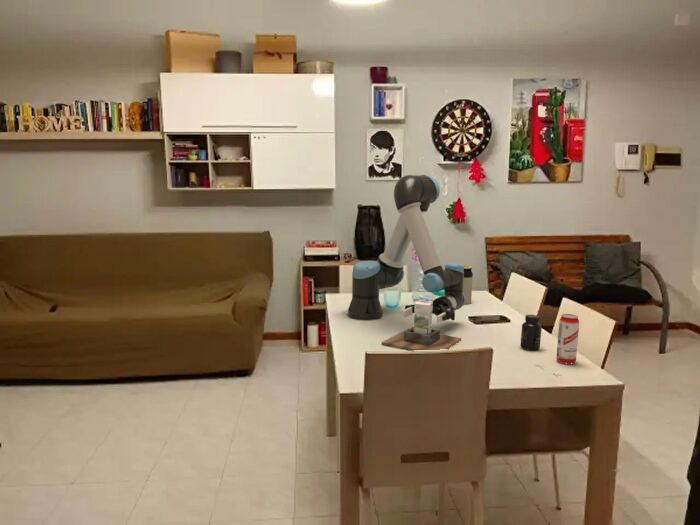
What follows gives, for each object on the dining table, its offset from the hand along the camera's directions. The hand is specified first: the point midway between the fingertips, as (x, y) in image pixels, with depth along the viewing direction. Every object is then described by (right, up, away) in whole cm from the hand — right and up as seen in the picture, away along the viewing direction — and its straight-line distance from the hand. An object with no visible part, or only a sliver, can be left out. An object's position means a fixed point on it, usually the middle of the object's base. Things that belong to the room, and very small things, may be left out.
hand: (420, 317), depth 203 cm
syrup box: (+1, -9, +4) cm, 10 cm away
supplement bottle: (+40, -11, 0) cm, 41 cm away
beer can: (+47, -14, -14) cm, 51 cm away
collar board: (+1, -10, +4) cm, 11 cm away
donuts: (+17, -2, +56) cm, 58 cm away
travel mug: (+29, 0, +68) cm, 74 cm away
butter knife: (+36, -14, -17) cm, 42 cm away
